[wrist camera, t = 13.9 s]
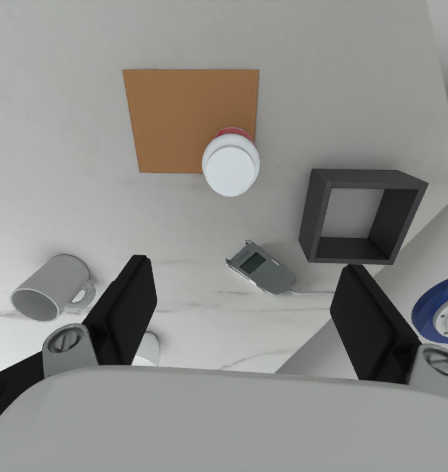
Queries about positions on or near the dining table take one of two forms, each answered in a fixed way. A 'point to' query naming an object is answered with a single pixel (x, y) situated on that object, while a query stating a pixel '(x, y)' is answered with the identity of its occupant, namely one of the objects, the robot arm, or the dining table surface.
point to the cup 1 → (54, 290)
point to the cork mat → (186, 113)
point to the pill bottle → (231, 162)
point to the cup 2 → (147, 351)
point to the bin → (385, 224)
